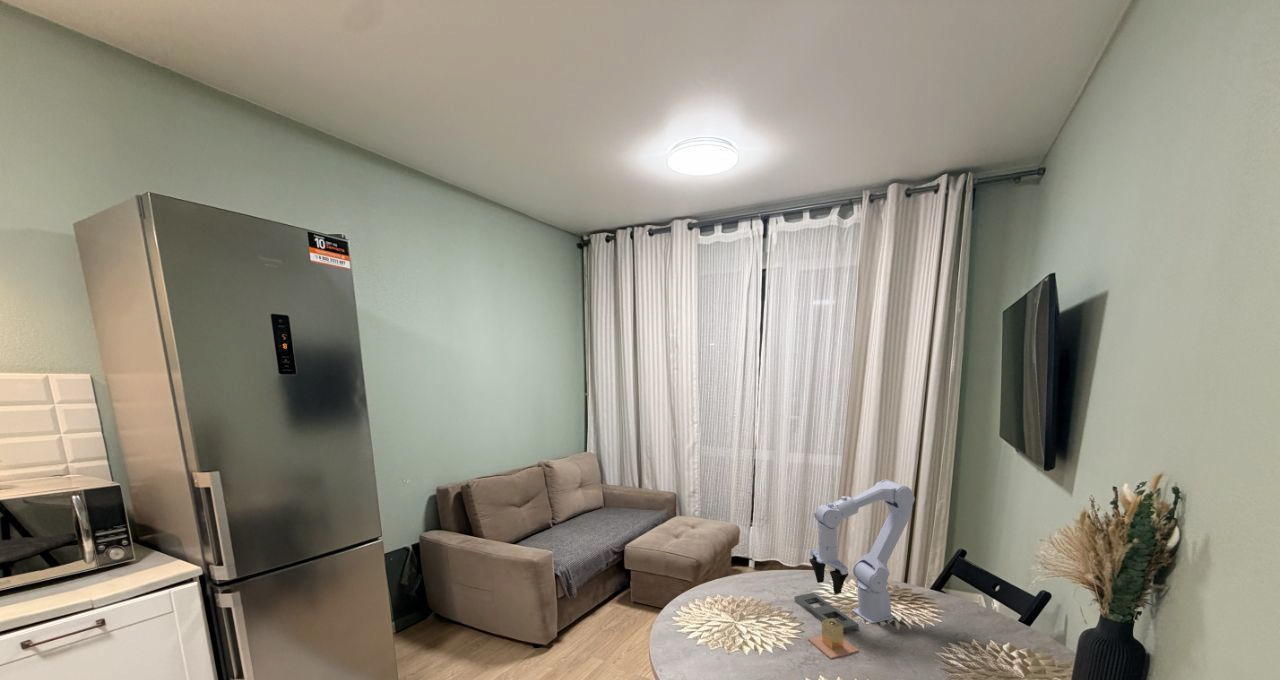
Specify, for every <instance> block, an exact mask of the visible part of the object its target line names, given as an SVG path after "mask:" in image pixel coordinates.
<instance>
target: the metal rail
mask: <svg viewBox="0 0 1280 680" xmlns="http://www.w3.org/2000/svg"><path fill="white" fill-rule="evenodd" d="M794 601H795V603H796V604H797V605H800V607H802V608H804V609H805V610H806V611H807V612H809V613H810V614H811V615H812V616H814V618H815V619H818V621H820V622H821V623H822V620H826V619H830V618H834V617H837V618H838V619H839V620H840V621H838V622H839V623H840V624H842V625H843V634H844V633H845V634H846V633H848V632H853V631H857V630H860V629H859V628H860V627H859V623H858V622H856V621H855V620H853V619H852V618H851V617H850V616H848V615H846V614H845V613H843V612H842V611H840V610H839V609H837V608H836V607H835V606H833V605H832V604H831V603H829V602H827V600H825V599H824V598H822V597H820V596H819V595H817V594H816V593H815V592H811V593H810V592H809V593H805V594H800V595H796V596H794ZM813 603H817V604H818V605H820V606H818V607H814V606H812V605H811V604H813Z"/></svg>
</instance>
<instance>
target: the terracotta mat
mask: <svg viewBox="0 0 1280 680" xmlns="http://www.w3.org/2000/svg"><path fill="white" fill-rule="evenodd" d="M808 641H809V642H810V643H811V644H812V646H815V648H817V649H818V650H819V651H820V652H822V653H823V655H825V656H826V657H827V658H828V659H830V660H833V659H836V658H841V657H845V656H848V655H852V654H856V653H859V652H860V650H859V649H858V648H857V647H855V646H854V645H853V644H852V643H850V642H849V641H848V640H846V639H845V638H843V646H844V647H842V648H838V649H834V650H832V649H830V648H829V647H828V646H827V645H826V644H824V643H823V642H822V635H819V636H814V637H809V638H808Z"/></svg>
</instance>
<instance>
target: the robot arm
mask: <svg viewBox="0 0 1280 680" xmlns="http://www.w3.org/2000/svg"><path fill="white" fill-rule="evenodd" d="M878 501H884V502H885V503H886V504H887V508H888V510H889V513H888V515H887V517H886V519H885V521H884V523H883V526H882V527H881V529H880V531H879V533H878V535H877V537H876V539H875V541H874V543H873V545H872V547H871V549H870V550H869V553H867V554H863V555H861V557H860V558H859V560H858V561H856V562H855V563H854V564H853V567H852V573H853V576H854V577H855V578H856V583H857V604H858V607H856V608H852V609H851V611H852V612H853V613H855V614H856V615H858V616H859V617H861V618H862V619H864V620H865V621H867V622H868V623H869V624H876V623H880V622H884V621H889V620H893V619H894V616H892V603H891V595H890V592H889V590H888V589H887V586H888V580H889V576H890V570H889V567H888V565H887V564H888V561H889V560H890V558H891V556H892V554H893V552H894V549H896V547H897V544H898V542H899V539H900V538H901V536H902V534H903V532H904V530H905V528H906V526H907V524H908V522H909V520H910V518H911V513H912V506H913V505H914V503H915V501H916V498H915V495H914V493H913V490H912V489H911V488H910V487H909V486H906V485H903V484H900V483H897V482H894V481H892V480H890V479H882V480H880V481H878V482H876V483H875V484H874V486H871V487H870V488H868V489H867V490H865V491H864V490H863V492H861V493H858V494H857V495H855V496H853V497H851V496H847V495H846V496H845V495H843V496H841V497H840V499H838V500H836V501H833V502H829V503H828V505H825V504H821V505H819V506H818V507H817V508H816V510H815V512H814V513H813V515H814V518H815V520H816V521H817V534H818V535H817V537H818V538H817V539H818V541H817V542H818V545H817V547H818V549H814V548H813V549H809V550H810V555H809V556H810V557H812V558H809V563H810V565H811V567H812V570H813V572H814V575H815V579H816V582H817V583H818V584H821V583H824V581H825V569H826V565H827V566H829V567H831V568H832V569H834V570H829V574H830V577H831V579H832V580H831V581H832V587H833V588H832V589H833V593H834V594H835V595H839V594H841V593H842V591H843V587H844V586H843V585H844V583H845V581H846V579H847V578H848V576H849V571H848V570H849V568H848V567H847V566H846V565H844V563H843V562H842V561H841V560H839V558H838V555H839V553H838V527H839V526H840V524H841V522H842V521H843V520H845V519H848V518H850V517H852V516H854V515H857V514H858V513H859V509H860V508H862V507H866V506H868V505H870V504H873V503H877V502H878Z"/></svg>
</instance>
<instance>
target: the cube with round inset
mask: <svg viewBox="0 0 1280 680" xmlns="http://www.w3.org/2000/svg"><path fill="white" fill-rule="evenodd" d="M839 622H840V621H837V620H836V619H835V618H834V617H830V618H828V619H826V620H822V622H821V636H822V642H823V643H824V644H826V645H827V646H828V647H829V648H830V649H832V650H834V649H838V648H842V647H844V646H843V639H844V633H843V625H842V624H840V623H839Z"/></svg>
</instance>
